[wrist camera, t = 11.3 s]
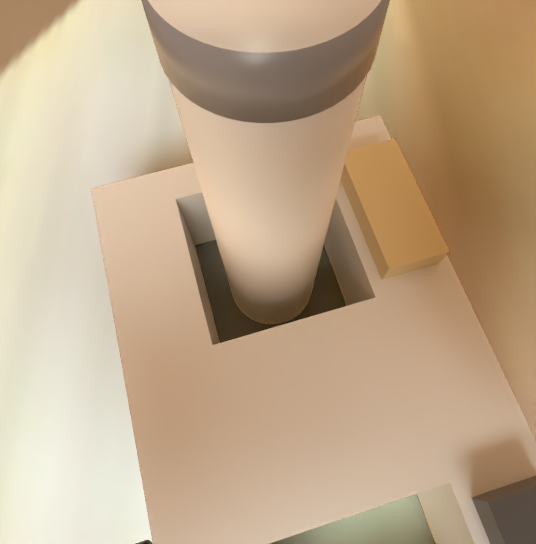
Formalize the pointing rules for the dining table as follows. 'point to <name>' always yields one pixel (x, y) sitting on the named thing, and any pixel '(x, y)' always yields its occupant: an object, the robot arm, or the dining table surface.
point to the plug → (268, 128)
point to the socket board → (314, 373)
